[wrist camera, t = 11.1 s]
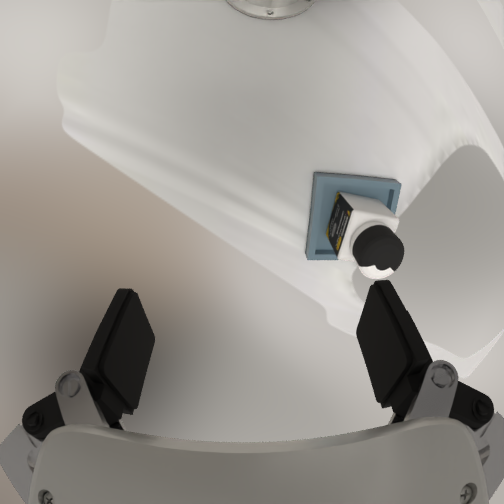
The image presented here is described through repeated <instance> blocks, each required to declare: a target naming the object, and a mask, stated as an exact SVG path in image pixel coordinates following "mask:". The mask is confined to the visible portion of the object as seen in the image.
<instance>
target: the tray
mask: <svg viewBox="0 0 504 504" xmlns="http://www.w3.org/2000/svg"><path fill="white" fill-rule="evenodd" d="M400 189H401V183H399V182H398V181H397V180H394V179H386V178H377V177H368V176H358V175H347V174H334V173H319V172H314V178H313V189H312V199H311V209H310V218H309V227H308V235H307V244H306V251H305V254H306V257H307V260H339V259H338V258H337V256H336V254H335V252H334V250H333V248H332V246H331V244H330V242H329V240H328V238H327V236H326V231H327V228H328V224H329V221H330V217H331V213H332V210H333V206H334V202H335V199H336V195H337V192H339V191H340V192H345V193H350V194H355V195H360V196H364V197H369V198H374V199H378V200H380V201H381V202H382V203H383V204H384V205H385V206H386V207H387V208H388V209H389V210H390V211H391V212H392V213H393V214H394V215H395V212H396V208H397V203H398V199H399V194H400Z"/></svg>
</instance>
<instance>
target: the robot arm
mask: <svg viewBox="0 0 504 504" xmlns="http://www.w3.org/2000/svg"><path fill="white" fill-rule="evenodd" d="M226 1H227V2H228V3H229V4H230V5H231V6H233V7H234V8H235V9H236V10H238V11H240V12H242V13H244V14H246V15H249V16H252V17H256V18H261V19H271V20H274V19H285V18H290V17H293V16H296V15H299V14H300V13H302V12H304V11H306V10H307V9H308V8H309V7H310V6H311V5H312V4H313V3H314V2H315V0H308V1H309V2H307V1H306V0H226ZM268 13H271V14H272V15H268ZM356 334H357V339H358V342H359V344H360V348H361V351H362V354H363V357H364V360H365V363H366V367H367V370H368V373H369V377H370V380H371V383H372V387H373V390H374V394H375V397H376V400H377V402H378V403H381V406H382V408H387V407H390V406H392V409H393V412H394V413H393V415H392V417H391V420H390V421H389V423H388V425H386V426H382V427H377V428H373V429H368V430H362V431H357V432H352V433H347V434H341V435H335V436H328V437H321V438H313V439H304V440H292V441H278V442H252V443H251V442H250V443H237V442H209V441H195V440H184V439H175V438H174V439H173V438H166V437H159V436H153V435H146V434H140V433H134V432H129V431H127V430H126V428H125V426H124V424H123V422H122V420H121V417H122V413H125V414H130V415H133V411H134V409H137V407H138V404H139V399H140V396H141V391H142V388H143V383H144V379H145V376H146V372H147V368H148V365H149V361H150V357H151V353H152V350H153V346H154V343H155V336H154V333H153V331H152V329H151V326H150V324H149V322H148V319H147V317H146V314H145V312H144V309H143V307H142V304H141V302H140V299H139V297H138V294H137V293H136V292H134V291H133V290H132V289H118V290H117V292H116V294H115V296H114V298H113V300H112V302H111V304H110V306H109V308H108V310H107V312H106V314H105V316H104V318H103V320H102V322H101V323H100V326H99V328H98V330H97V332H96V334H95V336H94V339H93V341H92V343H91V345H90V347H89V350H88V352H87V354H86V357H85V359H84V361H83V364H82V366H81V369H80V371H75V370H70V371H66V372H64V373H63V374H61V376H60V377H59V378H58V379H57V381H56V384H55V392H54V393H52V394H51V395H49V396H47V397H45V398H43V399H42V400H40V401H38V402H36V403H35V404H33V405H32V406H30V407H28V408H27V409H26V410H25V412H24V414H23V418H22V423H23V424H22V425H20V424H18V426H16V428H15V429H14V430H13V431H12V432H11V433H10V434H9V435H8V437H7V438H6V439H5V440H4V441H3V442H2V444H0V464H1V466H2V468H3V470H4V471H5V473H6V475H7V476H8V478H9V479H10V481H11V483H12V484H13V486H14V488H15V489H16V491H17V492H18V493H19V495H20V496H21V498H22V499H23V501H24V502H25V503H26V504H489V499H490V498H491V497H492V495H493V494H494V492H495V491H496V489H497V488H498V486H499V485H500V483H501V482H502V480H503V478H504V418H503V417H502V416H501V415H500V414H499V413H498V412H496V413H494V407H493V403H492V401H491V399H490V398H489V397H488V396H487V395H485V394H483V393H481V392H479V391H477V390H475V389H473V388H471V387H470V386H468V385H466V384H464V383H462V382H460V381H458V374H457V371H456V369H455V367H454V366H453V365H452V364H450V363H449V362H447V361H444V360H437V361H434V362H433V361H432V358H431V356H430V354H429V352H428V350H427V348H426V346H425V344H424V341H423V339H422V338H421V335H420V333H419V332H418V330H417V327H416V325H415V323H414V322H413V320H412V318H411V316H410V314H409V312H408V311H407V310H406V309H405V307H404V305H403V303H402V301H401V300H400V298H399V296H398V295H397V292H396V291H395V289H394V287H393V285H392V284H391V282H390V281H389V280H380V281H375V282H374V284H373V285H371V286H370V289H369V292H368V295H367V299H366V302H365V305H364V308H363V311H362V314H361V318H360V321H359V324H358V327H357V331H356Z"/></svg>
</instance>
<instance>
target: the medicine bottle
mask: <svg viewBox="0 0 504 504" xmlns="http://www.w3.org/2000/svg"><path fill="white" fill-rule="evenodd" d="M398 224H399V219H398V218H397V217H396V216H395V215H394V214H393V213H392V212H391V211H390V210H389V209H388V208H387V207H386V206H385V205H384V204H383V203H382V202H381V201H380V200H378V199H374V198H369V197H364V196H360V195H355V194H350V193H345V192H340V191H339V192H337V195H336V199H335V202H334V206H333V210H332V213H331V217H330V221H329V224H328V228H327V231H326V236H327V238H328V240H329V242H330V244H331V246H332V248H333V250H334V252H335V254H336V256H337V258H338V259H339V260H344V261H352V262H356V263H357V265H358V267H359V269H360V271H361V272H362V274H363V275H364V276H366V277H368V278H371V279H381V278H384V277H387V276H389V275H390V274H392V273H393V272H394V271H395V270H396V269H397V268H398V267H399V266H400V264H401V262H402V259H403V256H404V246H403V243H402V242H401V240H400V239H399V238H398V237H397V236H396V235H395V232H396V230H397V227H398Z"/></svg>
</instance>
